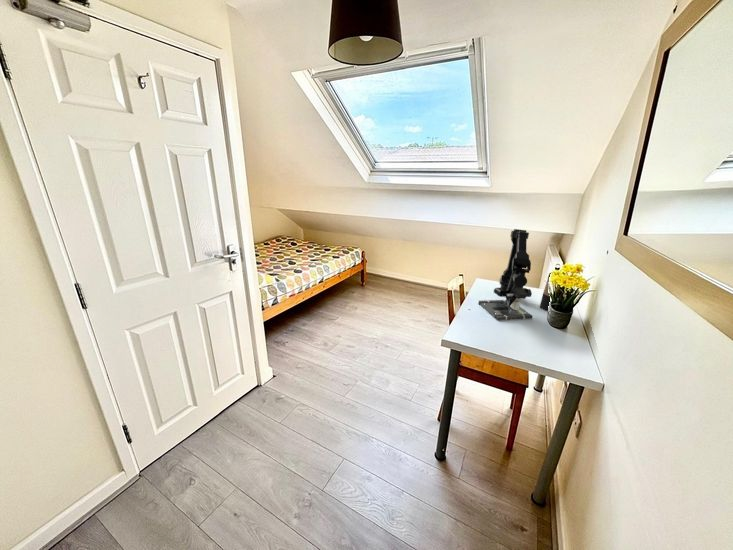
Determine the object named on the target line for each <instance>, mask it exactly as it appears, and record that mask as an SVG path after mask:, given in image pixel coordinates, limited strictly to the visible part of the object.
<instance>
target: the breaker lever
mask: <svg viewBox="0 0 733 550" xmlns="http://www.w3.org/2000/svg"><path fill="white" fill-rule="evenodd" d="M510 307H511V308H513V309H514V310H519V307H521V301H520V300H519V299H518V298H517V299H516V300H515V301H514V302H513V303H512V304H511V306H510Z"/></svg>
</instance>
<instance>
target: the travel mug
mask: <svg viewBox="0 0 733 550" xmlns="http://www.w3.org/2000/svg"><path fill="white" fill-rule="evenodd" d="M551 273H552V272H549V273H548V276H547V280H546V283H545V286H544V289H543V292H542V296H541V300H540V304H539V308H540V309H541V310H543V311H546V312H548V311H547V310H548V306H549V302H550V296H549V293H548V282H549V277H550V274H551Z"/></svg>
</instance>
